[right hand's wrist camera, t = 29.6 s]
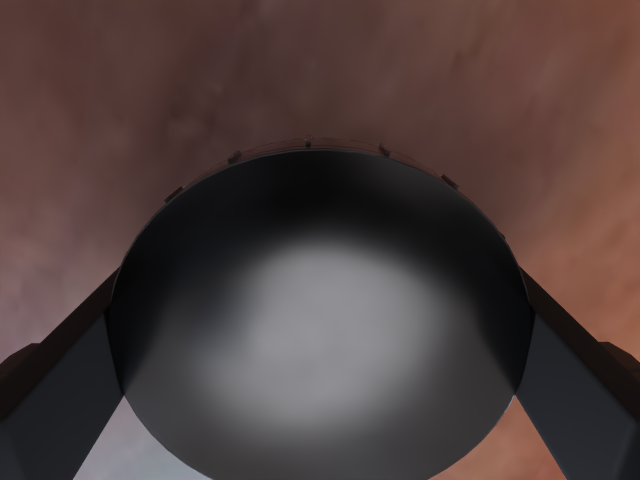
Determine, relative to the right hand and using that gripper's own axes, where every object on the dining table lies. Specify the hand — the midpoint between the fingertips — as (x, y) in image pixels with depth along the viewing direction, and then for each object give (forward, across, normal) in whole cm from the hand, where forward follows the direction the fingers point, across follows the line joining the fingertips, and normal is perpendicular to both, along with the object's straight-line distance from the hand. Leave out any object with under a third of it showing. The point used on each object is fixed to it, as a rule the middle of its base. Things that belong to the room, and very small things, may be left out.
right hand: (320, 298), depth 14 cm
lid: (-3, 0, 0) cm, 3 cm away
